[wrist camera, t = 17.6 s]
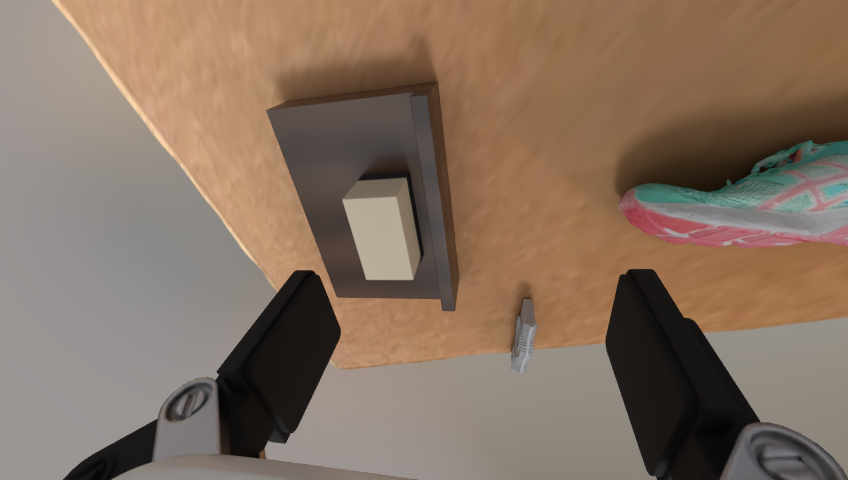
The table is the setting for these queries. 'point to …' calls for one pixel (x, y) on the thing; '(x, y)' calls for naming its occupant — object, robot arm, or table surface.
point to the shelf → (372, 154)
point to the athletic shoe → (754, 203)
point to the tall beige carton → (385, 225)
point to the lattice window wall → (524, 337)
